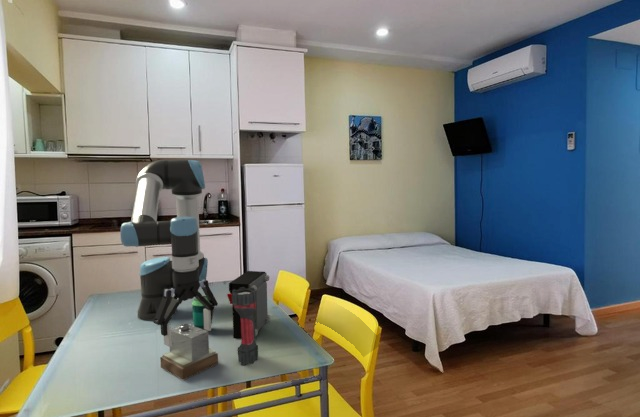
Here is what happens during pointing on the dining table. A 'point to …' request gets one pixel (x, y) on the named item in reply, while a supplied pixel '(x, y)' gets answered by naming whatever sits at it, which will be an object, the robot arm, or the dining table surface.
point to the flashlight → (246, 323)
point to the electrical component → (260, 286)
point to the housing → (189, 342)
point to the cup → (199, 313)
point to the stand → (187, 364)
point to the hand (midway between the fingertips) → (188, 337)
